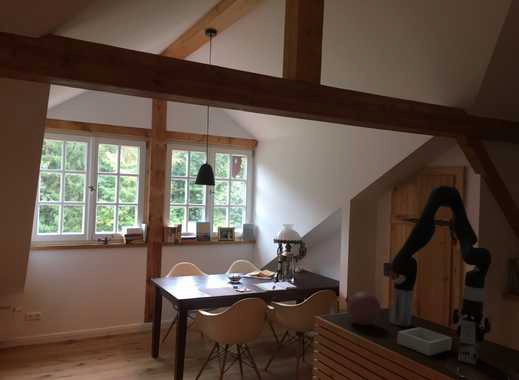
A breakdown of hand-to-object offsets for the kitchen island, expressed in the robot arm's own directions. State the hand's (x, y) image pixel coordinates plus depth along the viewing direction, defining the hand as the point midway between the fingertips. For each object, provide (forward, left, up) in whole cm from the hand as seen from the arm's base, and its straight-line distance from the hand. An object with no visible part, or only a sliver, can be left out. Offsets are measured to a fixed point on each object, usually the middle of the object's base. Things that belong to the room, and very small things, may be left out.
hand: (469, 339), depth 175 cm
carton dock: (-17, -4, -8) cm, 19 cm away
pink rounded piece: (-51, -5, -8) cm, 52 cm away
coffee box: (0, 0, -8) cm, 8 cm away
